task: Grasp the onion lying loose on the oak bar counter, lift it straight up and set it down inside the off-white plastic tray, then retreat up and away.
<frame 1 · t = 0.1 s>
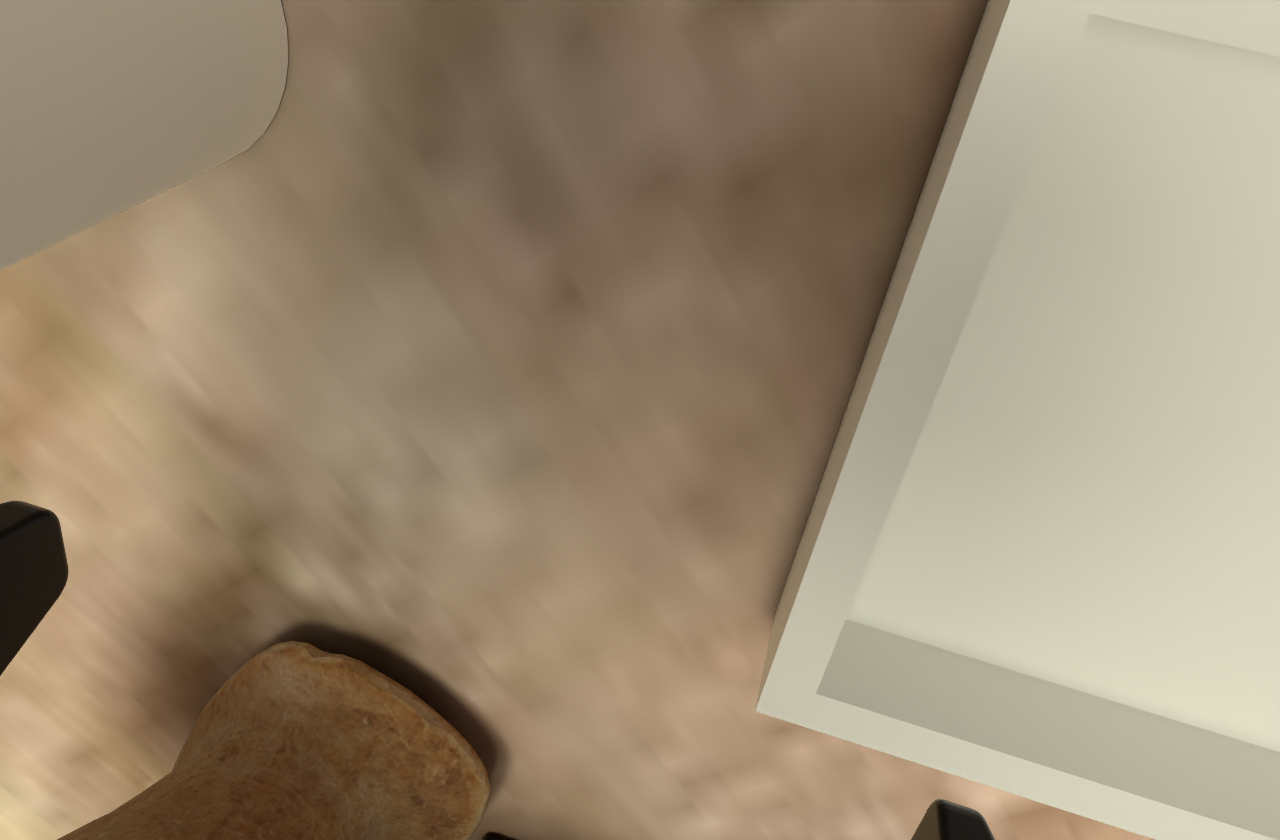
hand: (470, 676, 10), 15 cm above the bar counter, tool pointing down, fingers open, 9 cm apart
cylindrical container: (152, 12, 23), on the bar counter
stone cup: (316, 750, 36), on the bar counter
tray: (1278, 445, 22), on the bar counter
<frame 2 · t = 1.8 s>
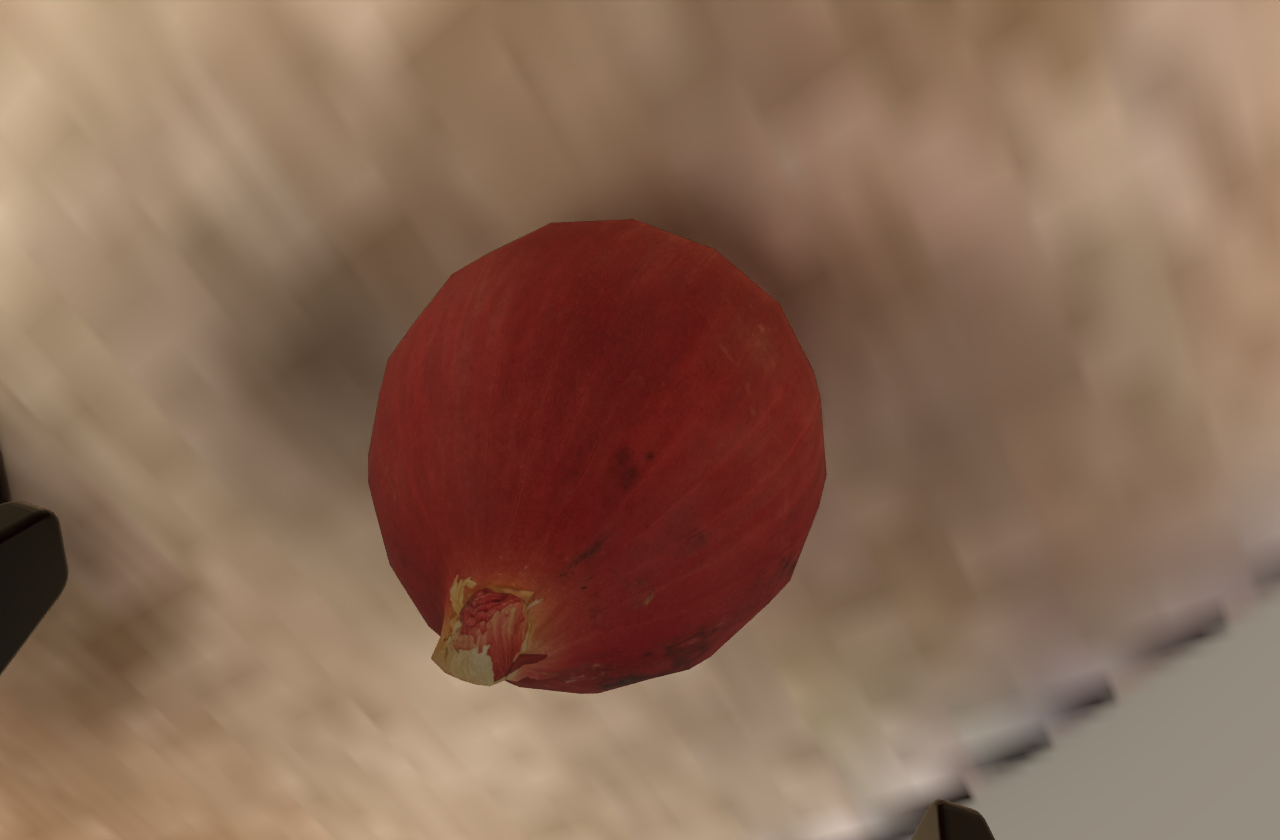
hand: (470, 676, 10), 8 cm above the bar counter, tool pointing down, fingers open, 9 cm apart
onion: (668, 324, 16), on the bar counter
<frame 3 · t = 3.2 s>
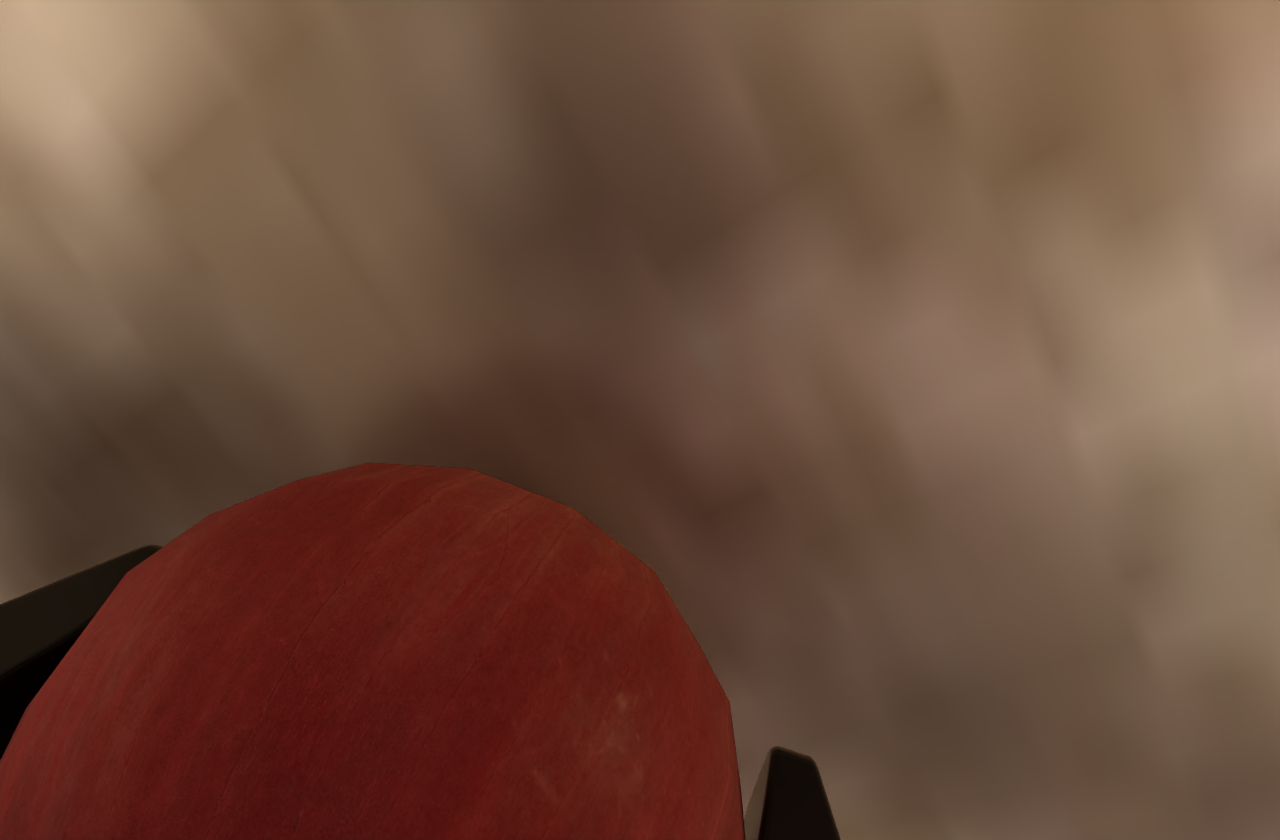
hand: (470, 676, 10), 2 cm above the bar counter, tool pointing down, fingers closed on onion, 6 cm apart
onion: (547, 539, 11), on the bar counter, touching gripper
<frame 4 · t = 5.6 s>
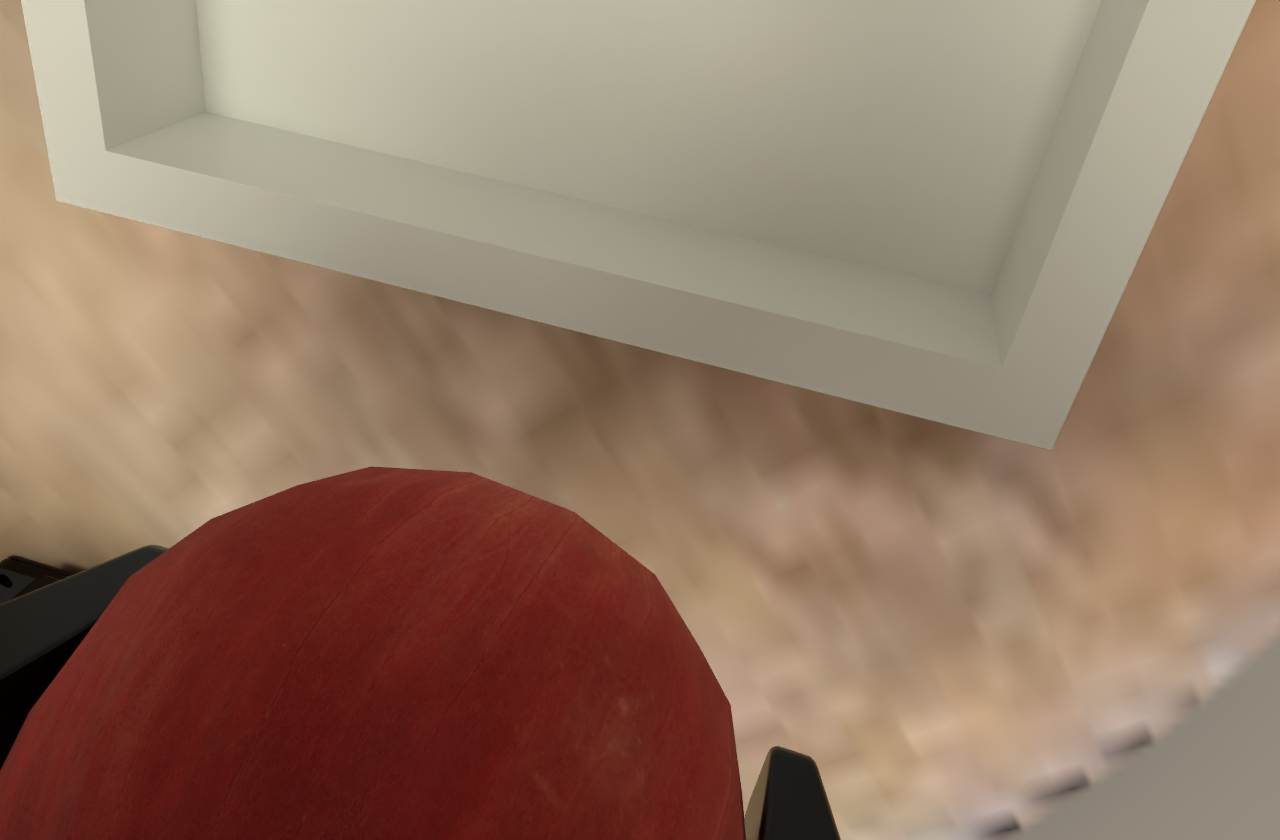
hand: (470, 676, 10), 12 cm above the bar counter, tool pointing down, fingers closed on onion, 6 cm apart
onion: (548, 541, 11), point 9 cm above the bar counter, touching gripper
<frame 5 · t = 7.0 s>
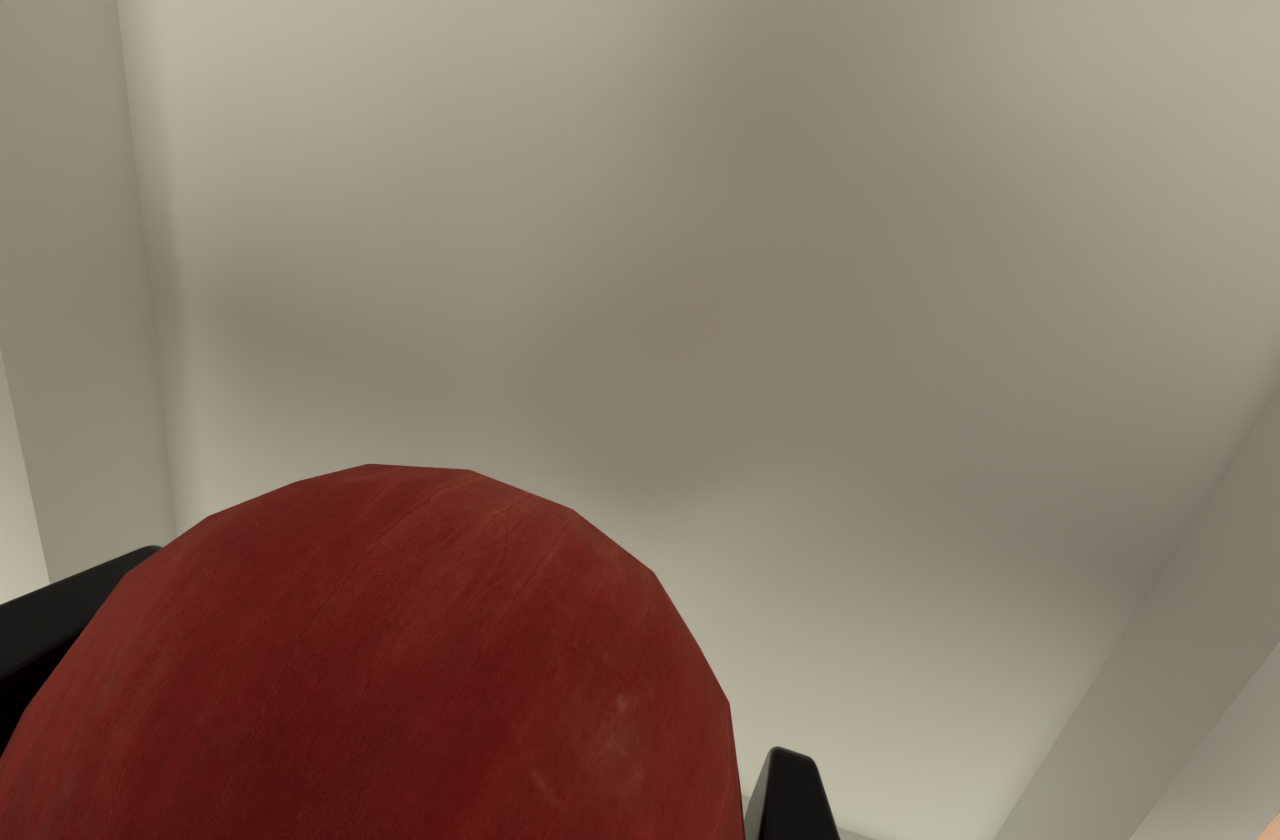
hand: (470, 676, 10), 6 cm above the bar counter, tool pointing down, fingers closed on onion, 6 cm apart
onion: (547, 539, 11), point 4 cm above the bar counter, touching gripper
tray: (639, 366, 15), on the bar counter
when the fingers open (4 cm above the bar counter, at t = 8.3 s): onion drops 1 cm, resting on tray.
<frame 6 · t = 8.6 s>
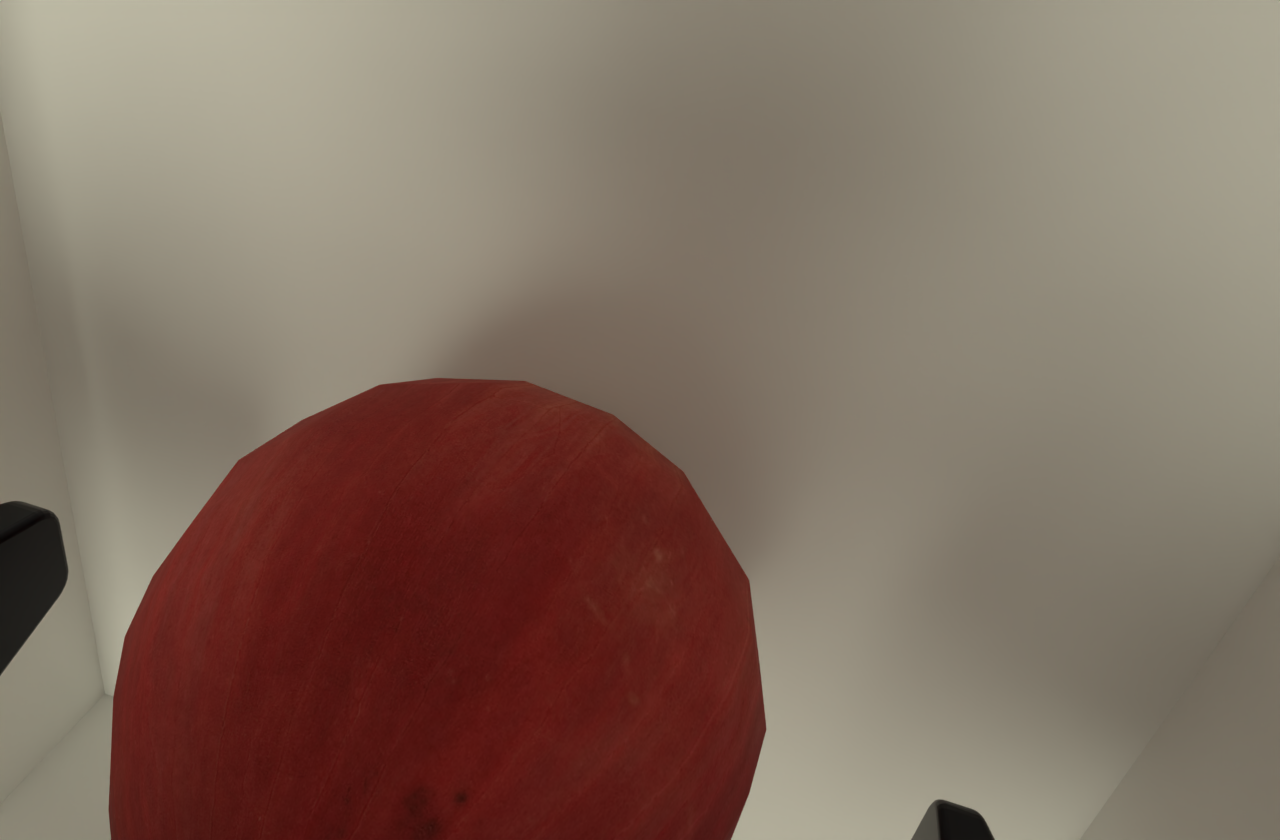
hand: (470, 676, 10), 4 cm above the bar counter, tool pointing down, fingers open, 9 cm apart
onion: (586, 469, 13), resting on tray
tray: (593, 447, 13), on the bar counter
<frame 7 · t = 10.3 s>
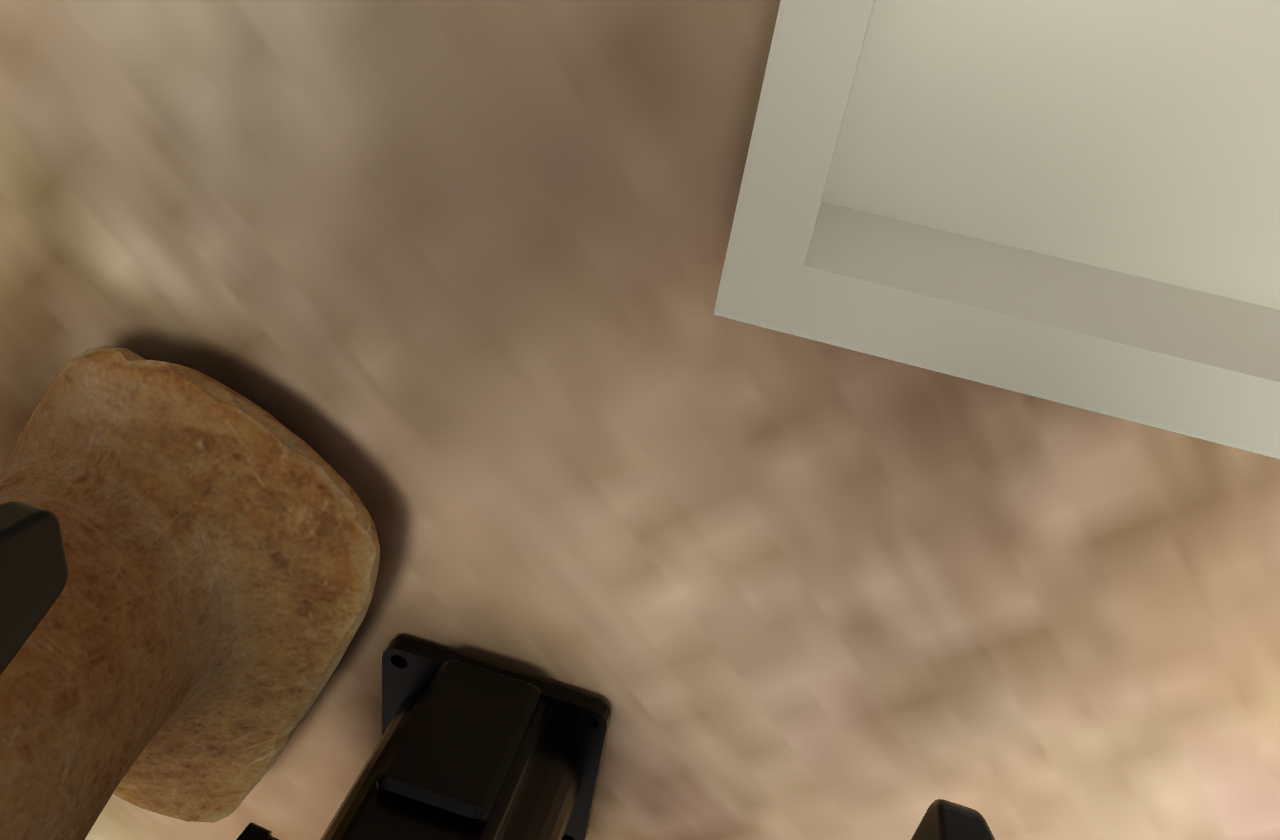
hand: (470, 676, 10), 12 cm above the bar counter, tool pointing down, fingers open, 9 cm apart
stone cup: (177, 535, 28), on the bar counter
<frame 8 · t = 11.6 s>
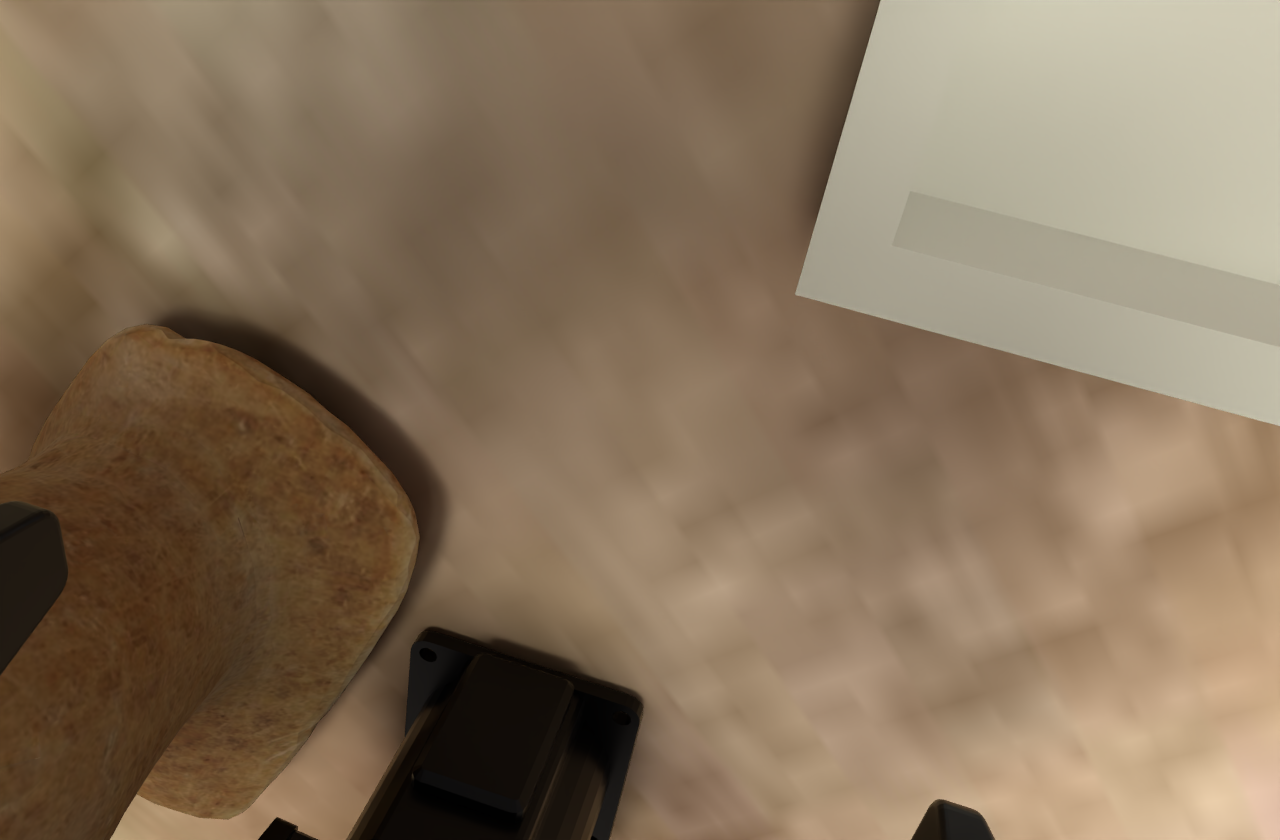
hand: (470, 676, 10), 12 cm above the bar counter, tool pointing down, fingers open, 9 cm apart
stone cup: (202, 523, 28), on the bar counter
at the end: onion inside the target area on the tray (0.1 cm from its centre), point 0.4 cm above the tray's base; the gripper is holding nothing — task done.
